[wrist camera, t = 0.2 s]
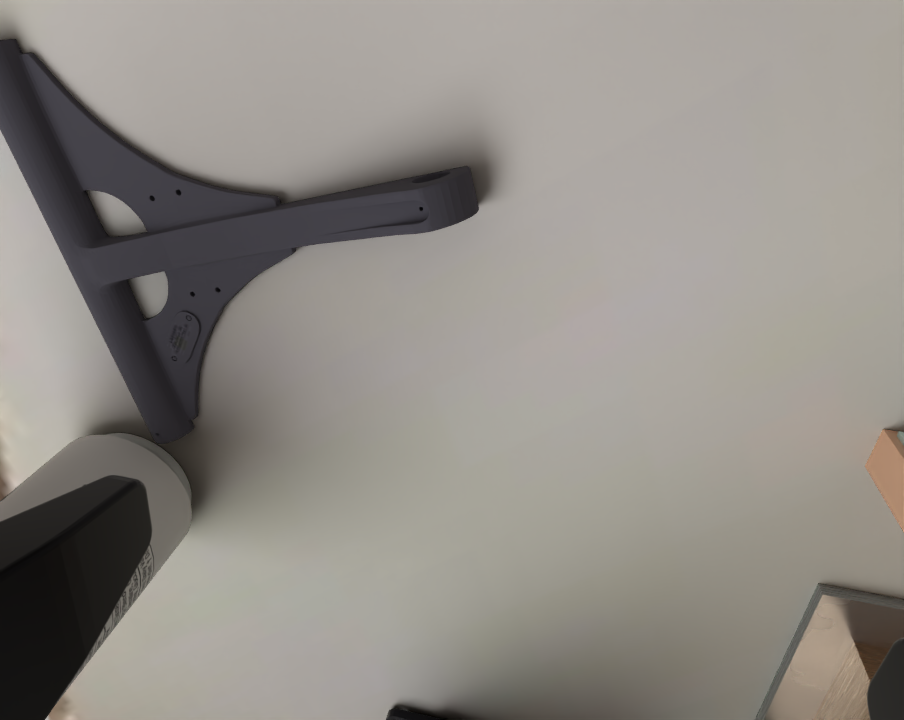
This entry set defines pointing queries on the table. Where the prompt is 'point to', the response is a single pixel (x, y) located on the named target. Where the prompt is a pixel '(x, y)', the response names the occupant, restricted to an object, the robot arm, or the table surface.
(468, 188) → the bracket
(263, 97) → the table surface
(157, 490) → the energy drink can
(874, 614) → the block on grey plate
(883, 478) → the tile
